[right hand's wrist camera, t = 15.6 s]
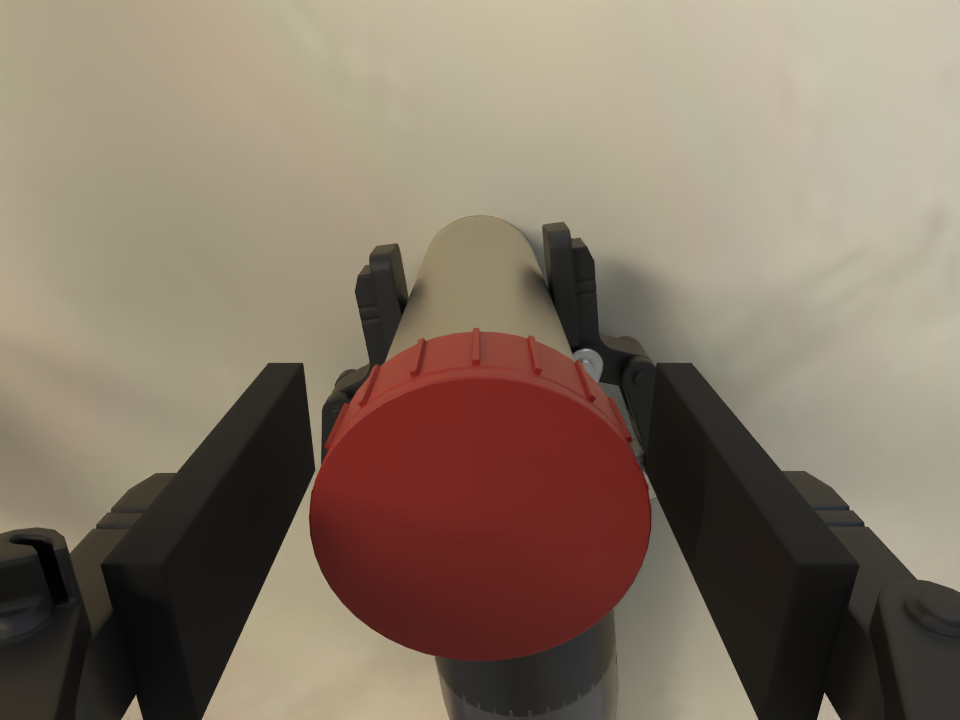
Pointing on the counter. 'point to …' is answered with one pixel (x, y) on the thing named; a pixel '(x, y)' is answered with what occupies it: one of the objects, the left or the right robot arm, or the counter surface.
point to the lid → (480, 499)
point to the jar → (480, 288)
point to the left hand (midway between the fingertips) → (468, 240)
